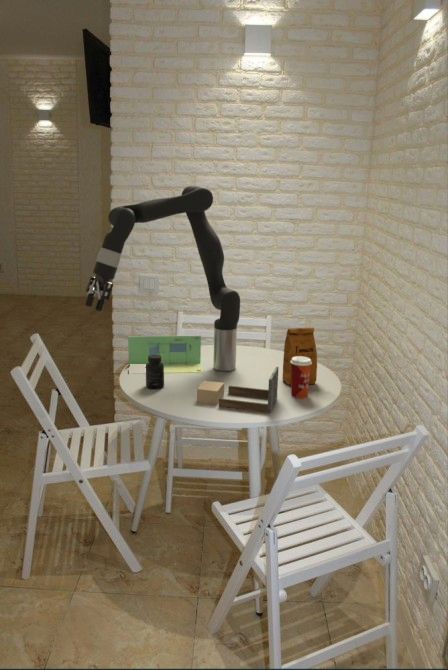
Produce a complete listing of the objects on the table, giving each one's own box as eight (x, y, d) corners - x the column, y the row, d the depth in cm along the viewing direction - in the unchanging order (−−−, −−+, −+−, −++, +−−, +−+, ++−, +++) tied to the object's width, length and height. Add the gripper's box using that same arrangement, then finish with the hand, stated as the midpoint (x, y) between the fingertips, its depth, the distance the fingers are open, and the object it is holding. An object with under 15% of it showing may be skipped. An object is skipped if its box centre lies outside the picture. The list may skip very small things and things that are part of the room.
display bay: (228, 393, 218) (229, 361, 215) (276, 398, 214) (278, 366, 210) (218, 407, 205) (219, 374, 201) (269, 413, 200) (271, 379, 197)
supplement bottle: (146, 383, 226) (145, 353, 222) (164, 383, 226) (164, 353, 223) (145, 390, 219) (144, 358, 216) (164, 390, 220) (163, 358, 216)
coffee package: (318, 386, 227) (322, 330, 222) (287, 387, 225) (290, 331, 219) (310, 377, 237) (313, 324, 231) (280, 379, 234) (282, 324, 229)
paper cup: (304, 400, 212) (306, 363, 209) (284, 396, 216) (286, 359, 212) (313, 394, 219) (315, 358, 215) (294, 390, 222) (296, 354, 219)
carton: (203, 393, 218) (204, 380, 216) (223, 395, 216) (224, 382, 214) (196, 402, 209) (196, 388, 208) (217, 404, 207) (217, 391, 206)
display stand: (200, 363, 252) (200, 335, 249) (203, 373, 240) (203, 343, 237) (128, 364, 248) (128, 336, 245) (127, 374, 236) (127, 344, 233)
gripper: (125, 269, 202) (111, 315, 203) (108, 264, 213) (94, 307, 214) (106, 263, 197) (91, 309, 198) (89, 257, 209) (75, 301, 209)
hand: (92, 308), depth 206 cm, fingers open, 8 cm apart
